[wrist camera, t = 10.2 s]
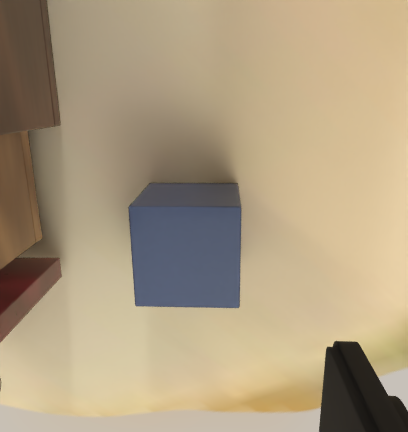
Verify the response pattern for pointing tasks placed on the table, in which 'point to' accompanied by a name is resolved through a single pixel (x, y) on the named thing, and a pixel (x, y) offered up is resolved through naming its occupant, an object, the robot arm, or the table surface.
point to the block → (186, 245)
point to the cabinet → (26, 68)
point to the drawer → (20, 235)
